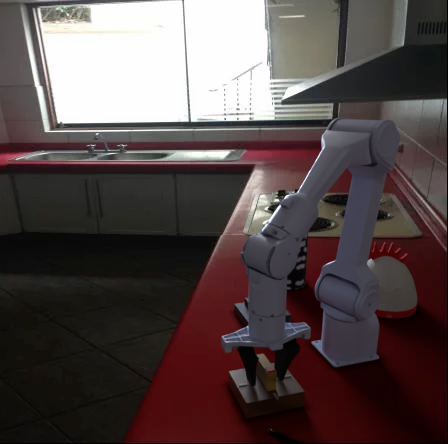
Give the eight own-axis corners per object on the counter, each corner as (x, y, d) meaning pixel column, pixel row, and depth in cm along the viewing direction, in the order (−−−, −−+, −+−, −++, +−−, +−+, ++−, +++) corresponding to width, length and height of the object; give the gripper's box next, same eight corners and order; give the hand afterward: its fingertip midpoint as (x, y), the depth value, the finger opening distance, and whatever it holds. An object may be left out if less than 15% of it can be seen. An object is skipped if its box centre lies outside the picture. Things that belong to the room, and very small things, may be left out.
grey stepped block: (274, 305, 99) (274, 290, 97) (290, 323, 91) (291, 307, 90) (234, 312, 97) (234, 296, 96) (247, 330, 89) (248, 314, 88)
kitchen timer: (348, 285, 106) (353, 230, 101) (410, 292, 101) (419, 234, 96) (350, 313, 94) (356, 251, 89) (421, 322, 89) (431, 257, 84)
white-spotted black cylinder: (305, 291, 105) (309, 215, 98) (270, 287, 107) (273, 213, 101) (305, 276, 112) (309, 205, 106) (273, 274, 115) (275, 204, 108)
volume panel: (279, 373, 76) (279, 358, 75) (306, 409, 67) (307, 393, 66) (227, 383, 74) (227, 368, 73) (247, 421, 66) (248, 405, 65)
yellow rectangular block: (254, 372, 72) (254, 353, 71) (263, 370, 72) (263, 352, 71) (267, 391, 67) (267, 372, 66) (276, 389, 68) (276, 370, 67)
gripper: (232, 328, 61) (232, 404, 65) (323, 313, 63) (317, 387, 67) (216, 305, 67) (217, 375, 72) (299, 292, 70) (296, 361, 74)
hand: (265, 379), depth 70 cm, fingers open, 4 cm apart
